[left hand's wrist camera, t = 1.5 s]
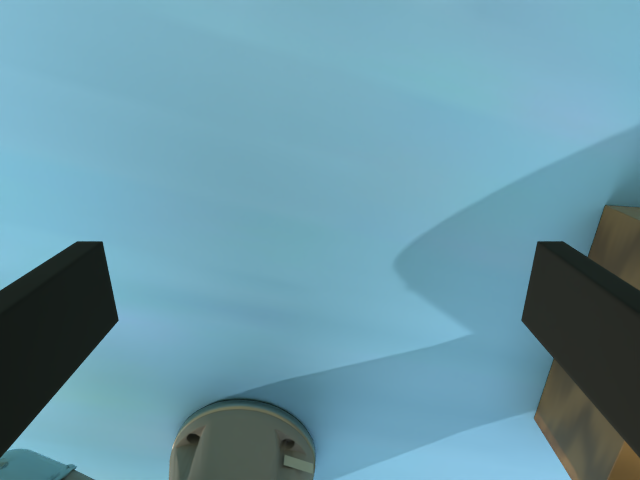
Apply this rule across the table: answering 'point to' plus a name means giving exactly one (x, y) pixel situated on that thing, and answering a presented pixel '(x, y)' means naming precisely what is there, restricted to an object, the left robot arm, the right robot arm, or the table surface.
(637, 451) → the left robot arm
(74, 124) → the table surface
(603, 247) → the box
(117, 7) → the table surface
